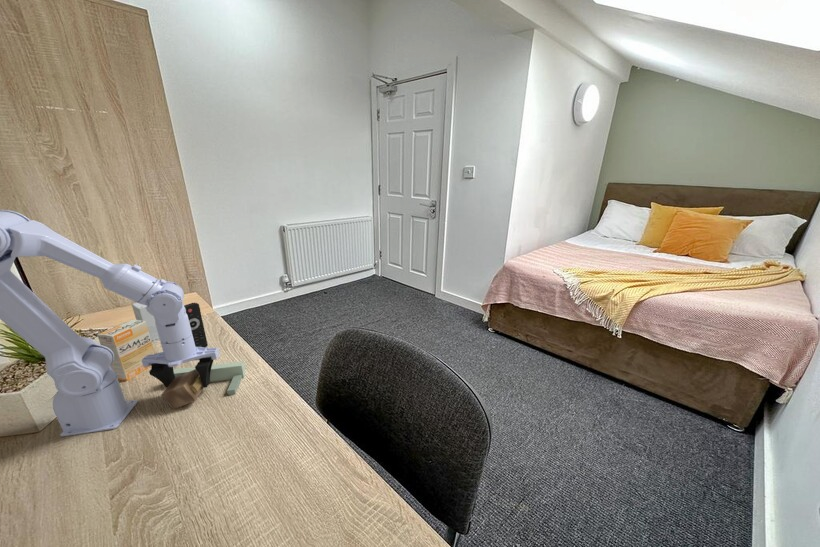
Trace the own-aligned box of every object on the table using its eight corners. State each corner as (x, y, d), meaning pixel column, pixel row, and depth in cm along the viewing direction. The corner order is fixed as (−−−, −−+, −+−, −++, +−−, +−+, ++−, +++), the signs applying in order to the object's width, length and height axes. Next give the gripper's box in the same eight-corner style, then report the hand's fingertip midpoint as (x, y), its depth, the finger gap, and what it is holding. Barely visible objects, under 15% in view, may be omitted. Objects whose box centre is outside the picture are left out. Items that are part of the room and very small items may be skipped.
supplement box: (127, 382, 76) (111, 336, 72) (112, 379, 77) (95, 334, 73) (159, 362, 84) (146, 320, 79) (145, 360, 85) (131, 318, 80)
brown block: (161, 394, 66) (187, 384, 67) (175, 377, 72) (199, 367, 72) (173, 409, 68) (198, 399, 68) (186, 390, 74) (209, 381, 74)
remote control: (191, 355, 87) (178, 308, 82) (188, 353, 88) (175, 306, 83) (209, 347, 91) (198, 301, 86) (206, 345, 92) (195, 300, 87)
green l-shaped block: (154, 405, 69) (150, 392, 68) (171, 382, 76) (168, 369, 75) (237, 394, 73) (234, 381, 72) (246, 373, 80) (243, 361, 79)
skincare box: (166, 338, 95) (156, 303, 91) (149, 344, 92) (138, 309, 88) (157, 333, 98) (147, 299, 94) (141, 338, 95) (130, 303, 91)
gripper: (126, 350, 62) (144, 403, 67) (206, 342, 66) (218, 393, 70) (146, 333, 69) (161, 382, 73) (217, 326, 72) (228, 374, 77)
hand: (190, 386), depth 72 cm, fingers closed on brown block, 6 cm apart
